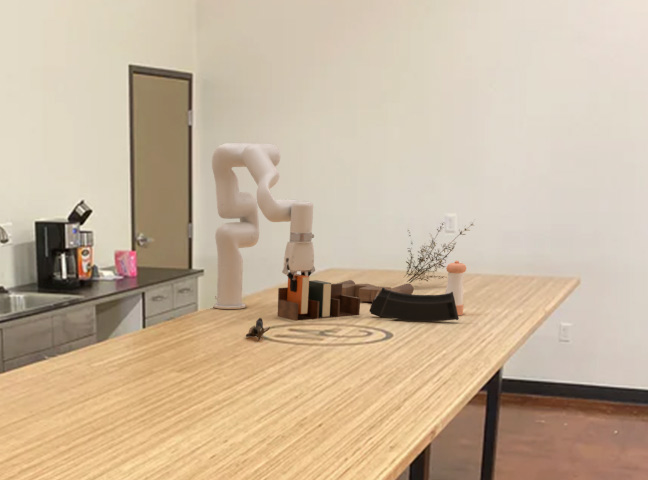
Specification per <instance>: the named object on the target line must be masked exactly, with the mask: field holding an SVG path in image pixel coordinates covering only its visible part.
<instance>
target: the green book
mask: <svg viewBox="0 0 648 480" xmlns="http://www.w3.org/2000/svg"><path fill="white" fill-rule="evenodd" d="M331 284H332V282H328V281H323V280H317V279H315V280H314V279H313V280H309V292H308V299H310V300H314V301H319V317H330V299H331Z"/></svg>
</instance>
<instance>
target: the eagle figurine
mask: <svg viewBox="0 0 648 480" xmlns="http://www.w3.org/2000/svg"><path fill="white" fill-rule="evenodd" d="M270 329H271V327H270V326H268V327H267V328H266V329H265V328H264V321H263V318H262V317H259V318H258V319H256V322H255V325H252V326H251V327H249V329H248V333H246V334H245V337H246V338H254V337H255V338H256V337H257V342H259V341H260V340H261V339H262V340H265V338H264V334H266V332H268V331H269V330H270Z"/></svg>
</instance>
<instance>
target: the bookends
mask: <svg viewBox="0 0 648 480" xmlns="http://www.w3.org/2000/svg"><path fill="white" fill-rule="evenodd" d="M340 283H341V284H342V295H346V296H351V297H356V298H360V302H367V303H369V302H370V303H372V302H373V300H374V299H375V297H376V295H377V293H378V291H379V290H380V292H381V290H382V288H385V289H386V290H391V291H394V292H398V293H404V294H412V295H413V293H414V286H413V285H412V284H411V283H404V284H400V285H398V286H394V287H391V286H390V287H389V286H379V285H374V284H370V283H356V282H355V281H354V280H352V279H348V280H344V281H340V282H337V283H336V284H340Z"/></svg>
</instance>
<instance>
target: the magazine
mask: <svg viewBox="0 0 648 480" xmlns="http://www.w3.org/2000/svg"><path fill="white" fill-rule="evenodd" d="M369 313H370V314H371V315H374V316H376V317H379V318H380V319H381V318H383V319H392V320H394V321H403V322H412V323H413V322H414V323H431V322H444V321H455V320H456V321H459V319H460V318H459V315H458V313H457V309H456V304H455V299H454V296H453V292H451V293H448V294H445V293H443V294H413V293H412V294H404V293H398V292H394V291H391V290H386V289H385V288H382V290H381V292H380V290H379V291H378V293H377V295H376V297H375V299H374V300H373V302H371V305H370V307H369Z"/></svg>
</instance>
